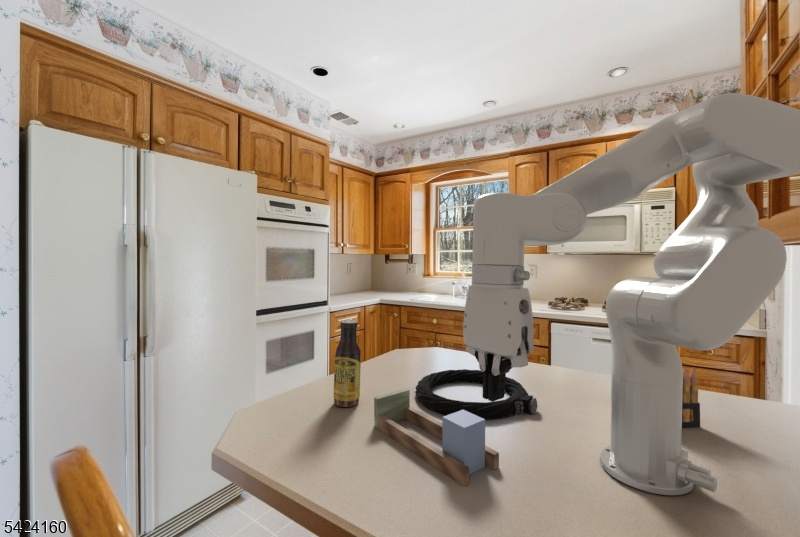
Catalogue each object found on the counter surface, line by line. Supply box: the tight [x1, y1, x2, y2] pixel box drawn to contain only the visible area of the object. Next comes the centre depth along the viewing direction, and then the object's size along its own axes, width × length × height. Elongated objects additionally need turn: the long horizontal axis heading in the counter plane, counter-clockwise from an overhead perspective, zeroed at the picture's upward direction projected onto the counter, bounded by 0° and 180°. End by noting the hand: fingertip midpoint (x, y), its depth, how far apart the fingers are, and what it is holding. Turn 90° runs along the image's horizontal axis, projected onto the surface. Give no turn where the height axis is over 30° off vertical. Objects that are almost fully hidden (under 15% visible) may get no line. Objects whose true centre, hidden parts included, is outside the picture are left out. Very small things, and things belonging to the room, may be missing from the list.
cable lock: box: [414, 368, 539, 420], centre depth 91 cm, size 28×4×30 cm
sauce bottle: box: [333, 319, 362, 408], centre depth 87 cm, size 6×6×20 cm
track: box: [373, 388, 500, 487], centre depth 68 cm, size 25×8×6 cm, turn 37°
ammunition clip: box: [682, 367, 701, 429], centre depth 75 cm, size 11×2×12 cm, turn 93°
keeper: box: [441, 410, 486, 476], centre depth 61 cm, size 5×5×8 cm
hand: (493, 397), depth 55 cm, fingers closed
